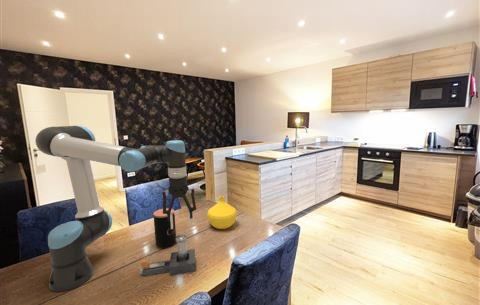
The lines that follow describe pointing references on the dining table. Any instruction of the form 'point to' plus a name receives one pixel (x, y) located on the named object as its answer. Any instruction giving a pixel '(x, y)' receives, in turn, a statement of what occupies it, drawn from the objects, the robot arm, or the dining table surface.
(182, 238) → the peg
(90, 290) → the dining table surface
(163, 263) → the bolt
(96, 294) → the dining table surface
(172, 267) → the dock
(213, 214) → the vase
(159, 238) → the coffee jar
